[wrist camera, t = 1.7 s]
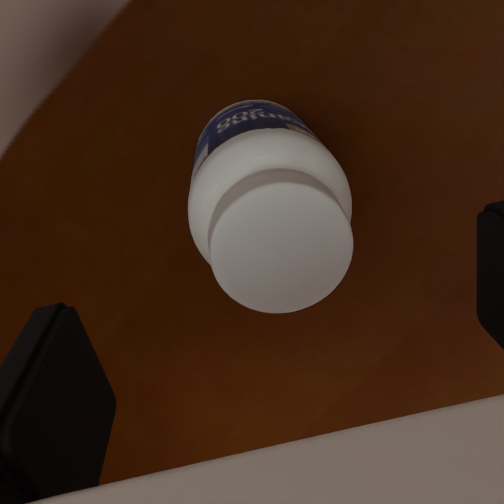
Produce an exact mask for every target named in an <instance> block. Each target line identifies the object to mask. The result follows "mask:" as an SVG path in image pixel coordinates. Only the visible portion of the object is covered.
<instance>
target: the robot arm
mask: <svg viewBox="0 0 504 504" xmlns="http://www.w3.org/2000/svg"><path fill="white" fill-rule="evenodd" d="M477 316H478V319H479V321H480V323H481V325H482V326H483V328H484V329H485V330H486V331H487V332H488V333H489V334H490V335H491V336H492V337H493V338H494V340H495V341H496V342H497V343H498V344H499V345H500V346H501V347H502V348H503V349H504V200H503V201H499V202H494V203H490V204H487V205H486V206H485V207H484V210H483V212H480V213H479V214H478V216H477ZM115 411H116V399H115V395H114V392H113V390H112V388H111V386H110V384H109V381H108V379H107V377H106V375H105V373H104V370H103V368H102V366H101V364H100V362H99V359H98V357H97V355H96V353H95V351H94V348H93V346H92V344H91V342H90V340H89V337H88V335H87V333H86V331H85V329H84V326H83V324H82V322H81V320H80V318H79V315H78V313H77V311H76V310H75V309H74V307H67V306H66V305H65V304H64V303H57V304H53V305H49V306H44V307H40V308H36V309H35V310H34V312H33V313H32V315H31V317H30V318H29V320H28V322H27V323H26V325H25V327H24V328H23V330H22V331H21V333H20V335H19V336H18V338H17V340H16V341H15V343H14V345H13V346H12V348H11V350H10V351H9V353H8V354H7V356H6V358H5V359H4V361H3V363H2V364H1V366H0V504H504V394H502V395H498V396H493V397H489V398H484V399H480V400H475V401H471V402H466V403H462V404H457V405H453V406H448V407H444V408H439V409H435V410H430V411H426V412H421V413H417V414H412V415H408V416H403V417H399V418H395V419H390V420H386V421H381V422H377V423H372V424H368V425H363V426H359V427H354V428H350V429H345V430H341V431H337V432H332V433H328V434H323V435H319V436H315V437H310V438H306V439H301V440H297V441H293V442H288V443H284V444H279V445H275V446H271V447H266V448H262V449H257V450H253V451H249V452H244V453H240V454H235V455H231V456H226V457H222V458H218V459H213V460H209V461H204V462H200V463H195V464H191V465H187V466H183V467H178V468H174V469H170V470H165V471H161V472H157V473H152V474H148V475H144V476H139V477H135V478H131V479H126V480H122V481H118V482H113V483H109V484H105V485H100V486H98V483H99V479H100V475H101V471H102V466H103V462H104V458H105V454H106V449H107V445H108V441H109V437H110V433H111V428H112V424H113V420H114V416H115Z"/></svg>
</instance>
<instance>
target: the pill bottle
mask: <svg viewBox="0 0 504 504" xmlns="http://www.w3.org/2000/svg"><path fill="white" fill-rule="evenodd" d="M351 215H352V199H351V192H350V188H349V184H348V181H347V178H346V176H345V174H344V172H343V170H342V168H341V167H340V165H339V163H338V162H337V160H336V159H335V158H334V157H333V155H332V154H331V153H330V151H329V150H328V149H327V148H326V147H325V146H324V145H323V144H322V142H321V141H320V140H319V139H318V138H317V137H316V136H315V135H314V134H313V132H312V131H311V130H310V129H309V128H308V127H307V126H306V125H305V124H304V123H303V121H302V120H301V119H300V118H299V117H297V116H296V115H295V114H294V113H293V112H292V111H290V110H289V109H287V108H286V107H284V106H282V105H280V104H277V103H275V102H271V101H267V100H246V101H242V102H238V103H234V104H232V105H230V106H228V107H226V108H224V109H223V110H221V111H220V112H218V113H217V114H216V115H215V116H214V117H213V118H212V119H211V120H210V121H209V123H208V124H207V125H206V127H205V128H204V130H203V132H202V134H201V136H200V138H199V141H198V144H197V148H196V153H195V160H194V165H193V172H192V178H191V186H190V192H189V198H188V219H189V226H190V230H191V234H192V237H193V239H194V242H195V244H196V246H197V248H198V250H199V251H200V253H201V254H202V256H203V257H204V258H205V259H206V261H207V262H208V263H209V264H210V265H211V267H212V270H213V273H214V275H215V278H216V280H217V281H218V283H219V285H220V286H221V288H222V289H223V290H224V291H225V292H226V293H227V294H228V295H229V296H230V297H231V298H232V299H234V300H235V301H237V302H238V303H240V304H242V305H243V306H246V307H248V308H250V309H253V310H256V311H260V312H266V313H287V312H294V311H297V310H301V309H304V308H306V307H309V306H312V305H313V304H315V303H317V302H319V301H320V300H322V299H323V298H324V297H326V296H327V295H329V294H330V293H331V292H332V291H333V290H334V289H335V288H336V287H337V285H338V284H339V283H340V282H341V280H342V279H343V277H344V275H345V274H346V272H347V270H348V267H349V265H350V262H351V259H352V253H353V235H352V229H351V226H350V221H351Z"/></svg>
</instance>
